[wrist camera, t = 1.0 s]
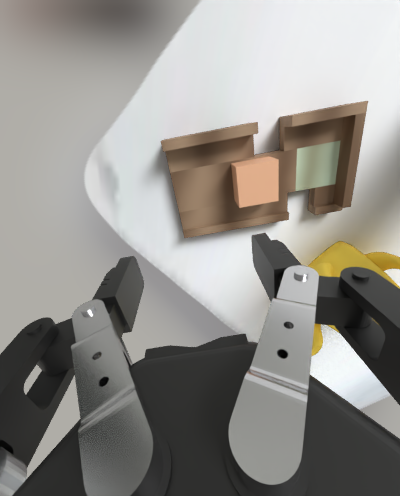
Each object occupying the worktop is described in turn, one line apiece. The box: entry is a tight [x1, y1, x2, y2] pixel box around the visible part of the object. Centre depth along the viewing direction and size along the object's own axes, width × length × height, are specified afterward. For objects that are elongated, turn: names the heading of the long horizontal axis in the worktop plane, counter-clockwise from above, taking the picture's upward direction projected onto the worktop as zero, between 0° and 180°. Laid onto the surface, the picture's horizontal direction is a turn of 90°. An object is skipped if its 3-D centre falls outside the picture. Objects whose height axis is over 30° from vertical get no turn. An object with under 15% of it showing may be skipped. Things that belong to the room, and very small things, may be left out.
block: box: [231, 156, 279, 208], centre depth 26 cm, size 4×4×3 cm
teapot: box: [307, 241, 400, 356], centre depth 32 cm, size 15×14×10 cm
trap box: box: [161, 101, 368, 238], centre depth 27 cm, size 21×12×4 cm, turn 100°
